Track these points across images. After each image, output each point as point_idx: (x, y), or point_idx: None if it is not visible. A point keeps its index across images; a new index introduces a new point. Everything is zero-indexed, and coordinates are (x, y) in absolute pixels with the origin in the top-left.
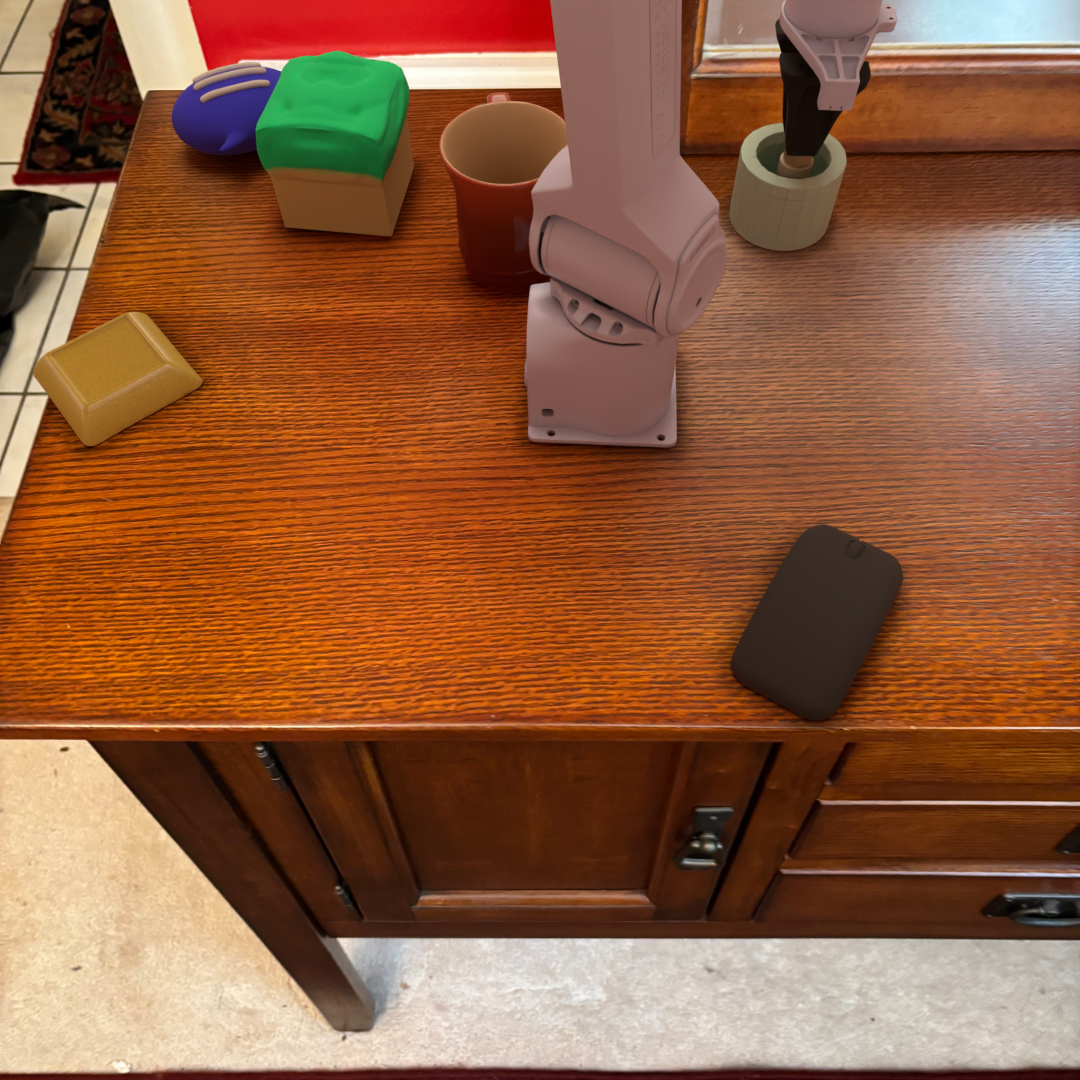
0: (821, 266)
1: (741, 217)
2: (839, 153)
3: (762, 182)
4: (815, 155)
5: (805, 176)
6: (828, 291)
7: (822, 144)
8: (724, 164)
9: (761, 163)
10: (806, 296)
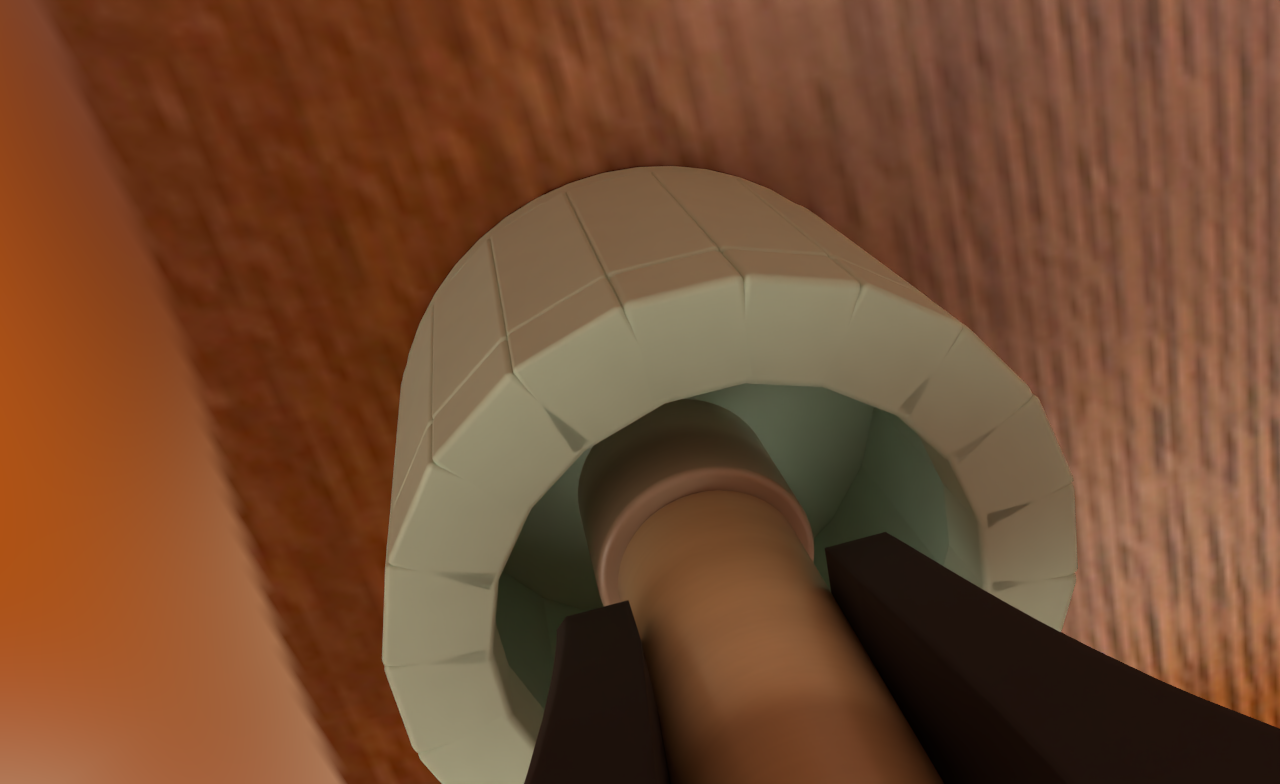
0: (961, 152)
1: None
2: (668, 343)
3: None
4: (887, 534)
5: (772, 465)
6: (1127, 94)
7: (928, 559)
8: (326, 718)
9: (508, 649)
10: (1165, 192)
